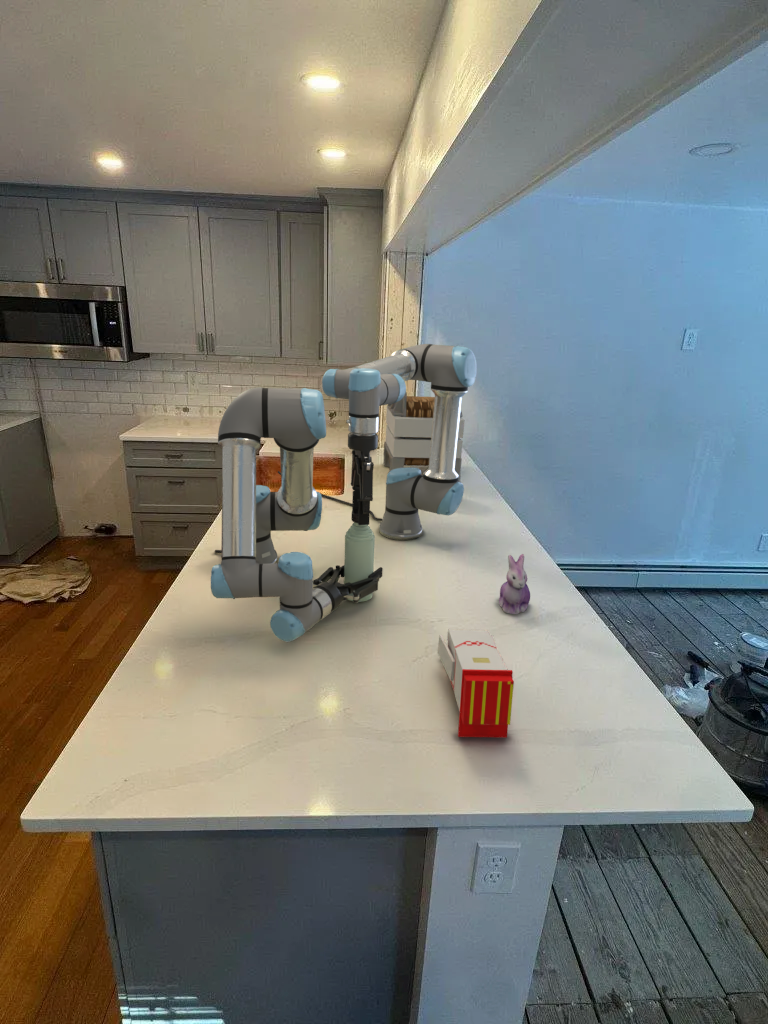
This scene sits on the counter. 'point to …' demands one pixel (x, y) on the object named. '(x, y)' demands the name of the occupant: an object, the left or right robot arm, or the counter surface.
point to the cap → (355, 515)
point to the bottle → (359, 555)
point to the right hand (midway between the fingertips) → (360, 519)
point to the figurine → (515, 588)
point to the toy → (478, 682)
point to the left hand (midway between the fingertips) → (367, 568)
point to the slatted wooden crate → (413, 433)
